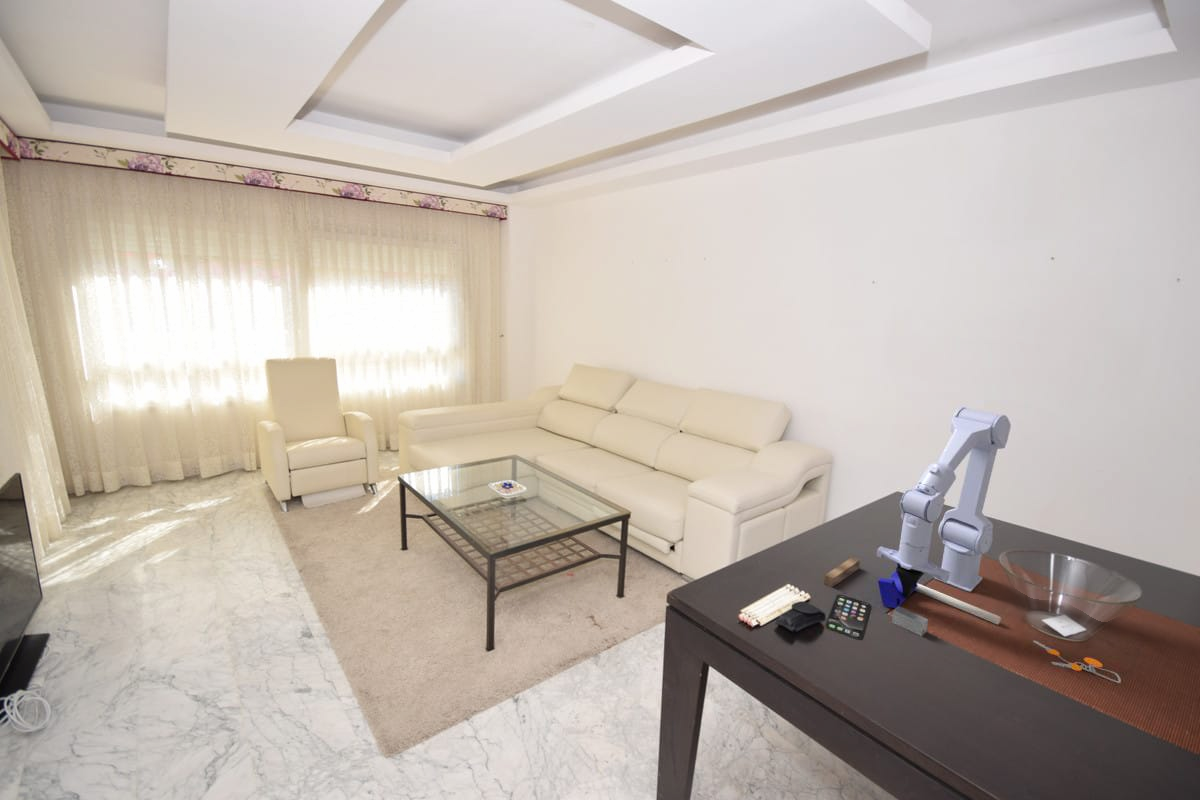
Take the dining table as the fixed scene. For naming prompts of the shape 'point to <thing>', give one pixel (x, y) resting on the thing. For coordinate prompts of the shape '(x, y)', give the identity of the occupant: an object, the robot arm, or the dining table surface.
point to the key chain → (1076, 667)
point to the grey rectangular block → (910, 621)
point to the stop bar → (841, 572)
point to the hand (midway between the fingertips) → (906, 596)
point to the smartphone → (848, 616)
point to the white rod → (959, 604)
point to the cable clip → (892, 590)
